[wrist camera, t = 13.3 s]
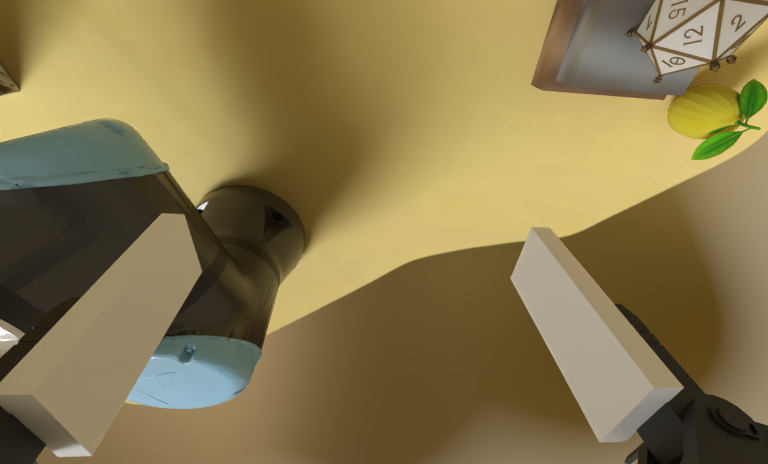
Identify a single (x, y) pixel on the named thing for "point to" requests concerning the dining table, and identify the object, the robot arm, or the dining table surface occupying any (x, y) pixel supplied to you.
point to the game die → (696, 32)
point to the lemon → (715, 115)
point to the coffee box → (6, 83)
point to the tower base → (602, 52)
